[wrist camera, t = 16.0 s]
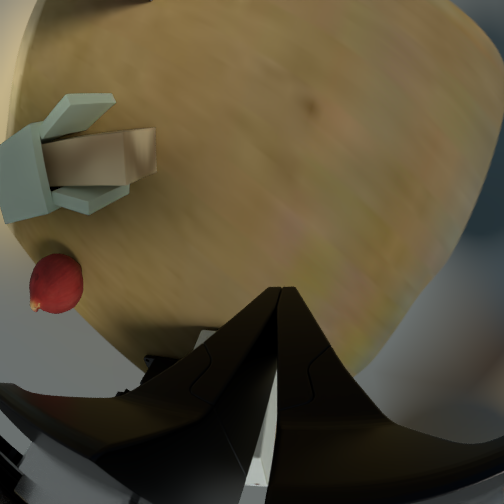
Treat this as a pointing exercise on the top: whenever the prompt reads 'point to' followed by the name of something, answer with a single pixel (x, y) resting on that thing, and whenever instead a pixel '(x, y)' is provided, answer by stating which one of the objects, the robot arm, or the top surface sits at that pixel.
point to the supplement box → (265, 443)
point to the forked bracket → (33, 167)
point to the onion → (56, 284)
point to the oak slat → (101, 158)
